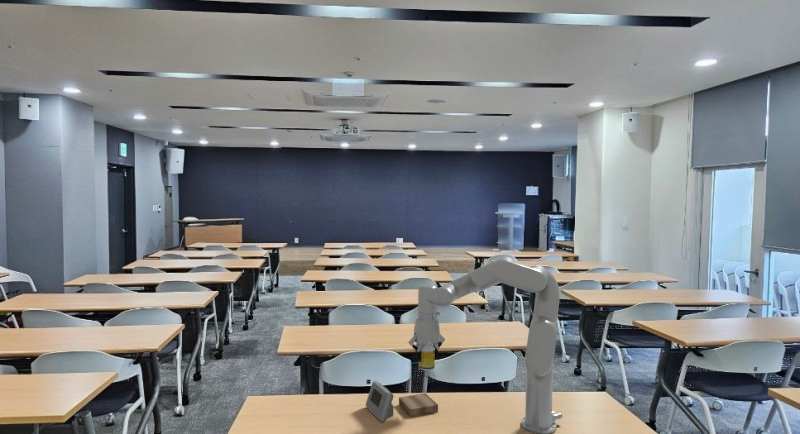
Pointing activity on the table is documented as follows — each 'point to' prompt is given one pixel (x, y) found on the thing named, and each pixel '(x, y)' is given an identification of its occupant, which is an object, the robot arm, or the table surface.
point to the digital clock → (380, 401)
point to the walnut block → (418, 405)
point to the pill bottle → (427, 357)
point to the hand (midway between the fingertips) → (426, 359)
